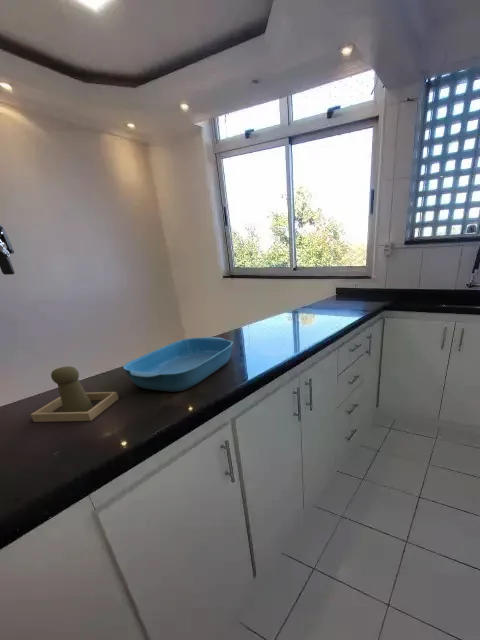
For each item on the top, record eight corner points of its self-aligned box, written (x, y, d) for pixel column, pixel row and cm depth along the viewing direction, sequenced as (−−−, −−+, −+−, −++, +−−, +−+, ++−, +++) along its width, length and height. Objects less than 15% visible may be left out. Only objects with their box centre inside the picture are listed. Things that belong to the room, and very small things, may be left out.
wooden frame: (35, 425, 71) (30, 414, 70) (69, 402, 82) (65, 392, 81) (92, 423, 71) (88, 413, 70) (119, 401, 81) (116, 391, 80)
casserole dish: (180, 402, 79) (174, 376, 76) (112, 394, 86) (104, 370, 82) (245, 357, 111) (243, 337, 107) (192, 353, 117) (188, 335, 114)
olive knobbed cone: (91, 402, 80) (76, 362, 75) (95, 410, 76) (79, 368, 71) (63, 410, 77) (45, 368, 72) (65, 418, 72) (47, 375, 68)
